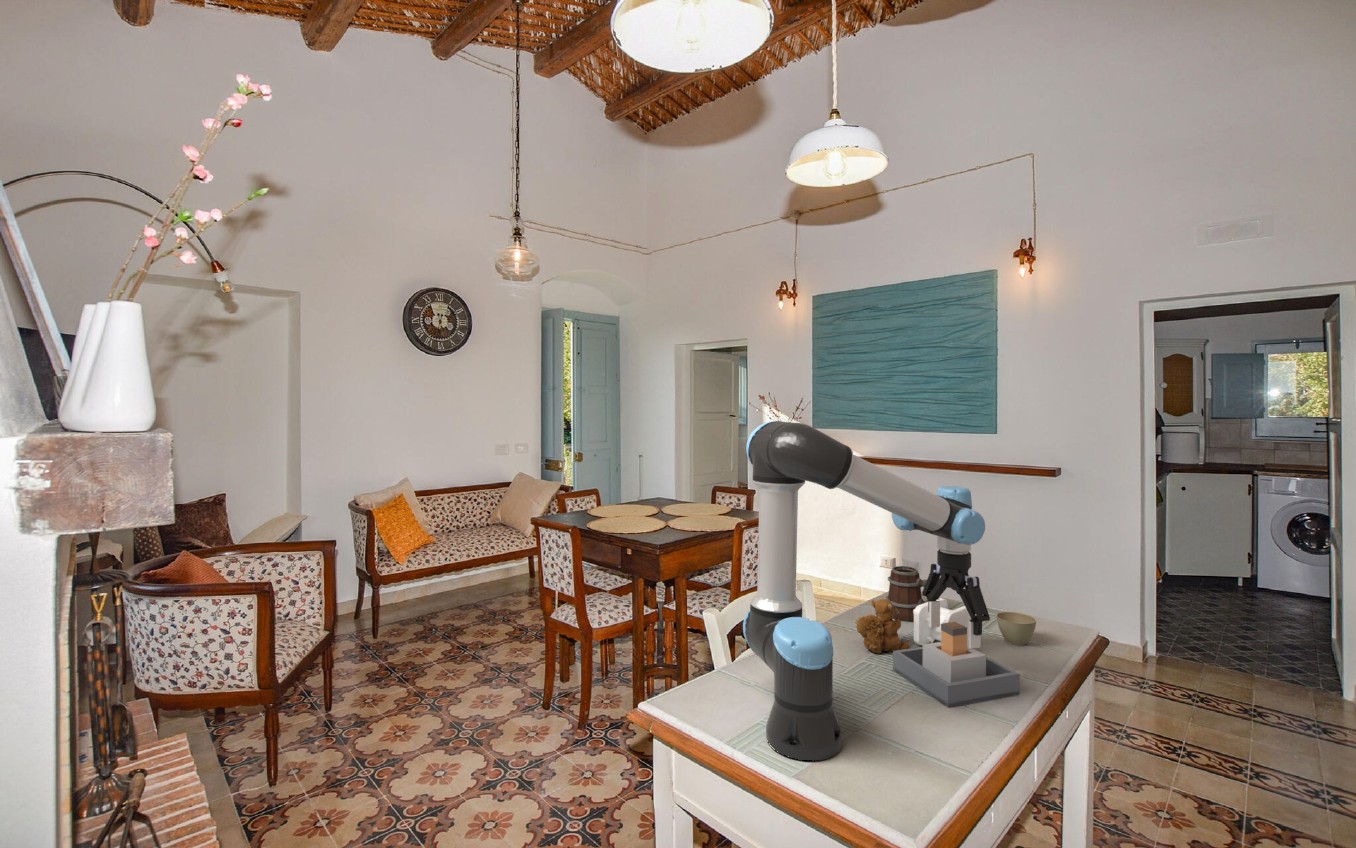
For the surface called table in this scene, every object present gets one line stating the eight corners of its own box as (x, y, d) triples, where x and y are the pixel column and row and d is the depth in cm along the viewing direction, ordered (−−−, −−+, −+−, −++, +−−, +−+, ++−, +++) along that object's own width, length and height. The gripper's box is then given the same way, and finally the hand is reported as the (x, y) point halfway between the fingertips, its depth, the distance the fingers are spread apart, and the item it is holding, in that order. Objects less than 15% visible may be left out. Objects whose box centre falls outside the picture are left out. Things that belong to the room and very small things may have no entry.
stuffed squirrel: (912, 648, 169) (912, 601, 169) (878, 661, 162) (878, 612, 161) (882, 637, 178) (882, 592, 177) (849, 648, 170) (849, 601, 170)
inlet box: (948, 708, 137) (948, 672, 136) (893, 670, 156) (893, 639, 156) (1019, 694, 142) (1020, 661, 142) (958, 660, 161) (958, 630, 161)
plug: (952, 670, 146) (952, 629, 146) (940, 663, 150) (940, 623, 150) (966, 668, 148) (966, 627, 147) (954, 661, 151) (954, 621, 151)
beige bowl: (1036, 639, 174) (1037, 615, 174) (1035, 652, 166) (1035, 626, 166) (997, 632, 180) (997, 608, 180) (994, 644, 171) (994, 619, 171)
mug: (879, 616, 195) (879, 569, 194) (896, 606, 204) (896, 562, 203) (928, 628, 184) (928, 579, 183) (943, 618, 192) (944, 571, 192)
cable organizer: (947, 659, 162) (947, 616, 162) (911, 646, 171) (911, 605, 170) (976, 645, 171) (976, 604, 171) (940, 634, 180) (940, 595, 179)
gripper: (1007, 562, 137) (1006, 655, 138) (932, 538, 161) (931, 617, 162) (980, 565, 135) (979, 659, 136) (907, 540, 159) (907, 620, 160)
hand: (953, 637), depth 149 cm, fingers open, 13 cm apart
